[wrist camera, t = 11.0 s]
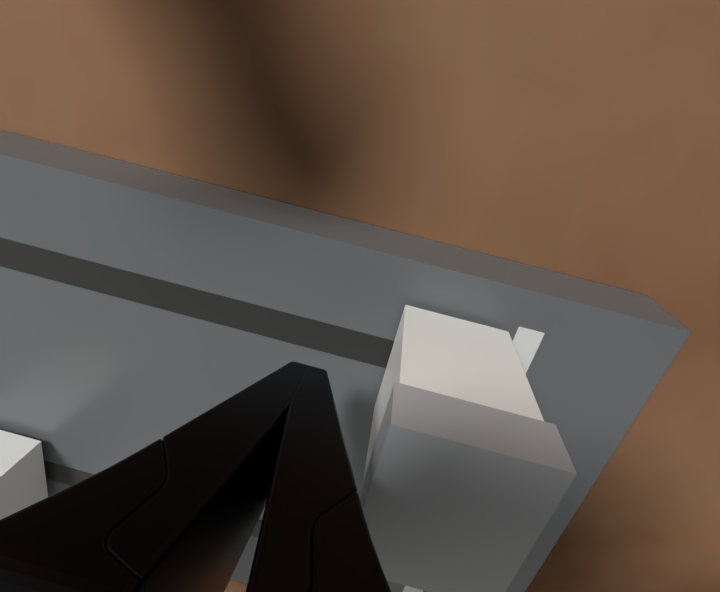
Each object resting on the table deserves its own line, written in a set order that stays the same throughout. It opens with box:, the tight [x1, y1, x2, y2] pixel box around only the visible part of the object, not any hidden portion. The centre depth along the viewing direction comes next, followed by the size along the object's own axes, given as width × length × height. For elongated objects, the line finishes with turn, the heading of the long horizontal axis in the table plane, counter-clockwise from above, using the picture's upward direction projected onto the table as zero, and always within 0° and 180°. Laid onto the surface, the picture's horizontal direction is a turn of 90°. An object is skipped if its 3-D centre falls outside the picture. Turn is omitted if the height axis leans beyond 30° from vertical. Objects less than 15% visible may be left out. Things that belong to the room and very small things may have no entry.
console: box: [0, 130, 691, 592], centre depth 13 cm, size 22×13×2 cm, turn 77°
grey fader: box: [359, 305, 577, 592], centre depth 8 cm, size 3×3×4 cm
